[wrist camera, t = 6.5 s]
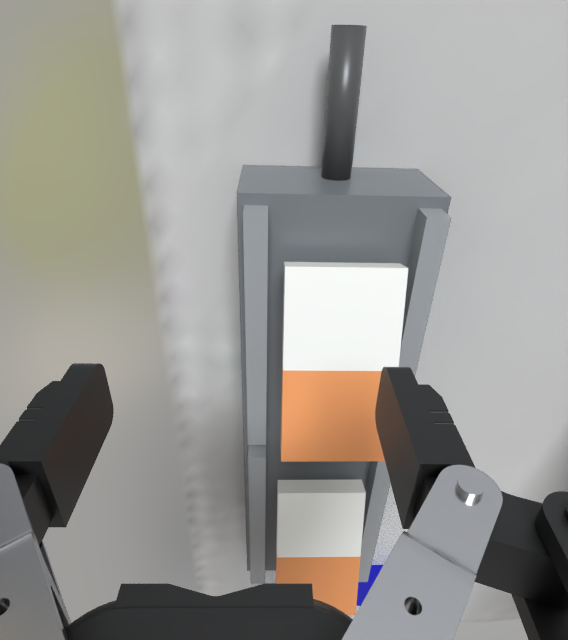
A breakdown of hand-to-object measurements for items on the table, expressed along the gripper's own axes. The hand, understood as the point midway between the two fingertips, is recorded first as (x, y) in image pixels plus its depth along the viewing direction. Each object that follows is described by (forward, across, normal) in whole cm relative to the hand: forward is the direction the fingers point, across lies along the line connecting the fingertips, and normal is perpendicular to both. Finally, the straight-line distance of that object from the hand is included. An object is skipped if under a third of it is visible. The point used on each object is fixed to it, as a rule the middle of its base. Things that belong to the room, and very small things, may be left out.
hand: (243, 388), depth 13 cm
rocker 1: (+7, -4, +4) cm, 8 cm away
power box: (+14, -4, +8) cm, 16 cm away
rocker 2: (+7, -4, +18) cm, 19 cm away
